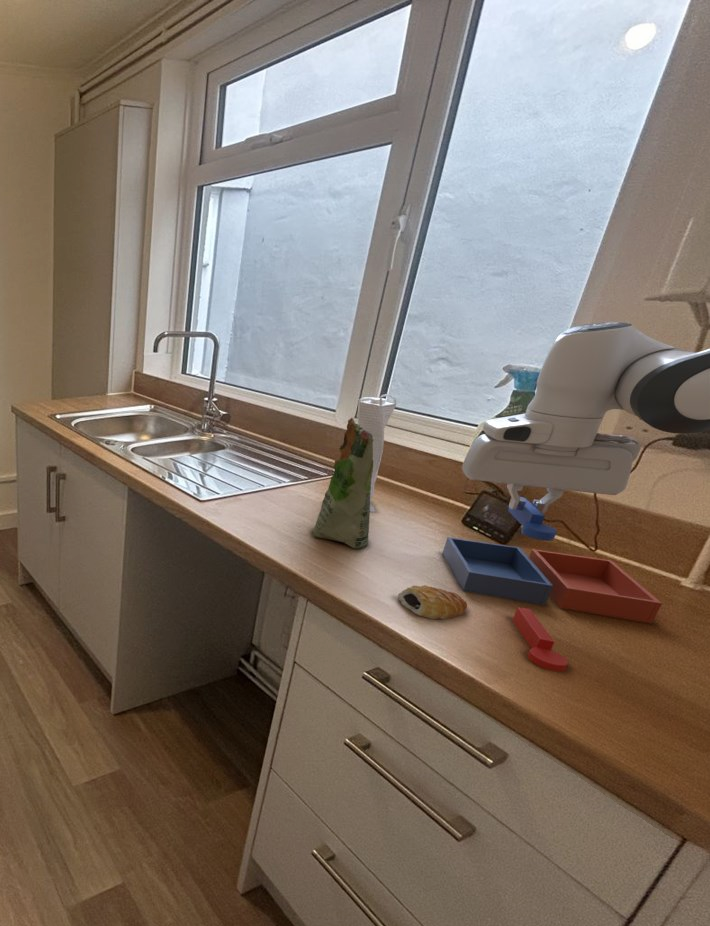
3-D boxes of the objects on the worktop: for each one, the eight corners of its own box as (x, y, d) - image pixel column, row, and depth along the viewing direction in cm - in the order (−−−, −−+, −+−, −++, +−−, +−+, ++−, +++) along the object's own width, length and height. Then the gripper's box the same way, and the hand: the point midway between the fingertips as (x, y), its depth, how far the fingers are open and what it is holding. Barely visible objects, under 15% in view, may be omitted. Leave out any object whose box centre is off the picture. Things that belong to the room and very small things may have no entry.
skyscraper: (376, 516, 123) (407, 396, 112) (337, 511, 125) (363, 393, 115) (370, 503, 130) (398, 389, 119) (333, 499, 133) (357, 387, 122)
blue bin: (512, 566, 100) (519, 547, 98) (544, 607, 87) (553, 585, 86) (441, 555, 104) (447, 536, 103) (462, 592, 92) (469, 572, 90)
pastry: (443, 597, 90) (450, 578, 89) (477, 620, 84) (485, 599, 83) (392, 600, 90) (398, 580, 88) (422, 623, 83) (429, 603, 82)
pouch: (346, 555, 105) (376, 433, 95) (294, 533, 114) (317, 420, 105) (380, 544, 109) (412, 426, 100) (327, 523, 119) (352, 414, 110)
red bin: (602, 580, 95) (612, 560, 93) (650, 625, 82) (662, 603, 81) (524, 568, 99) (531, 548, 98) (558, 609, 87) (567, 588, 85)
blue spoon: (527, 513, 92) (533, 498, 91) (558, 542, 82) (565, 526, 80) (499, 509, 94) (504, 494, 93) (525, 538, 83) (532, 521, 82)
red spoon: (533, 626, 82) (540, 610, 81) (570, 676, 72) (577, 660, 71) (502, 620, 84) (507, 605, 83) (532, 668, 73) (539, 652, 72)
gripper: (634, 432, 82) (597, 513, 87) (473, 420, 90) (449, 495, 95) (657, 442, 77) (617, 527, 82) (485, 428, 84) (458, 507, 90)
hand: (526, 510), depth 89 cm, fingers closed on blue spoon
